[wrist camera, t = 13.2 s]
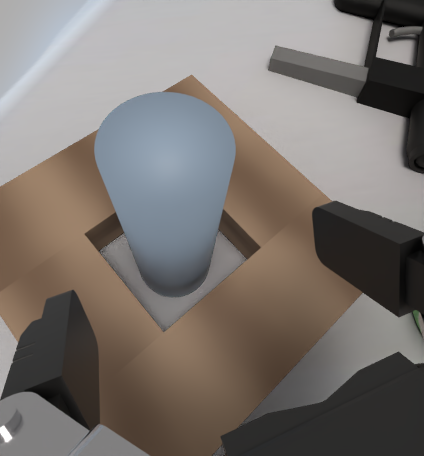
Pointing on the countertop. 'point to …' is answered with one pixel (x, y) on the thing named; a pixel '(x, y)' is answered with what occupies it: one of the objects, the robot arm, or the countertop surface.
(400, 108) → the black angled piece
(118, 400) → the socket block
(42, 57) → the countertop surface
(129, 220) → the pin
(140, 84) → the countertop surface
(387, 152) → the countertop surface
